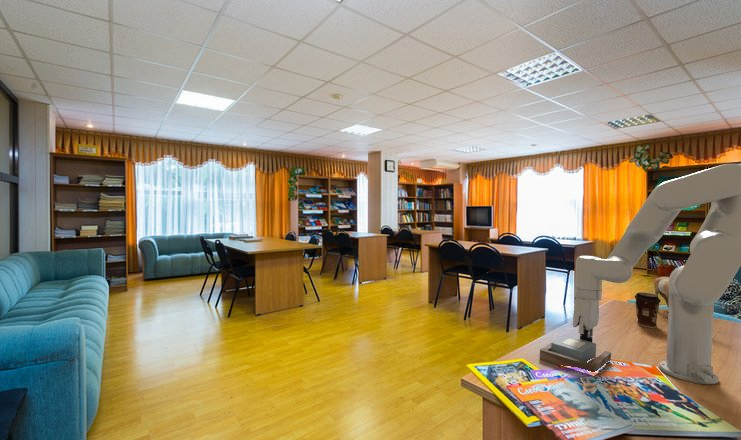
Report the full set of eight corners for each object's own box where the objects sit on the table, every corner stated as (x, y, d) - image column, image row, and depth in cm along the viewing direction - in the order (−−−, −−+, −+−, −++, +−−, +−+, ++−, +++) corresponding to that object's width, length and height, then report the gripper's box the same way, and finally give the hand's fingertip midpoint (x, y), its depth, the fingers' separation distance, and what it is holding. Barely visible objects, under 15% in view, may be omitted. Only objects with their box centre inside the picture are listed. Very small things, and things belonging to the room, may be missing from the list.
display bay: (559, 346, 119) (559, 338, 119) (610, 361, 108) (610, 352, 108) (539, 359, 109) (539, 349, 109) (593, 377, 98) (594, 366, 97)
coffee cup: (628, 323, 145) (629, 292, 145) (640, 320, 149) (641, 290, 148) (652, 329, 137) (654, 297, 137) (664, 327, 141) (665, 295, 140)
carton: (565, 349, 117) (566, 334, 117) (595, 358, 110) (596, 343, 110) (550, 358, 111) (551, 342, 110) (581, 368, 104) (582, 351, 103)
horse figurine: (693, 327, 141) (695, 277, 140) (669, 324, 144) (671, 275, 144) (667, 308, 169) (669, 266, 168) (647, 306, 172) (649, 265, 172)
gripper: (583, 288, 122) (581, 339, 122) (566, 294, 112) (564, 350, 113) (608, 292, 116) (606, 346, 117) (592, 299, 106) (590, 358, 107)
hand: (585, 348), depth 115 cm, fingers closed
